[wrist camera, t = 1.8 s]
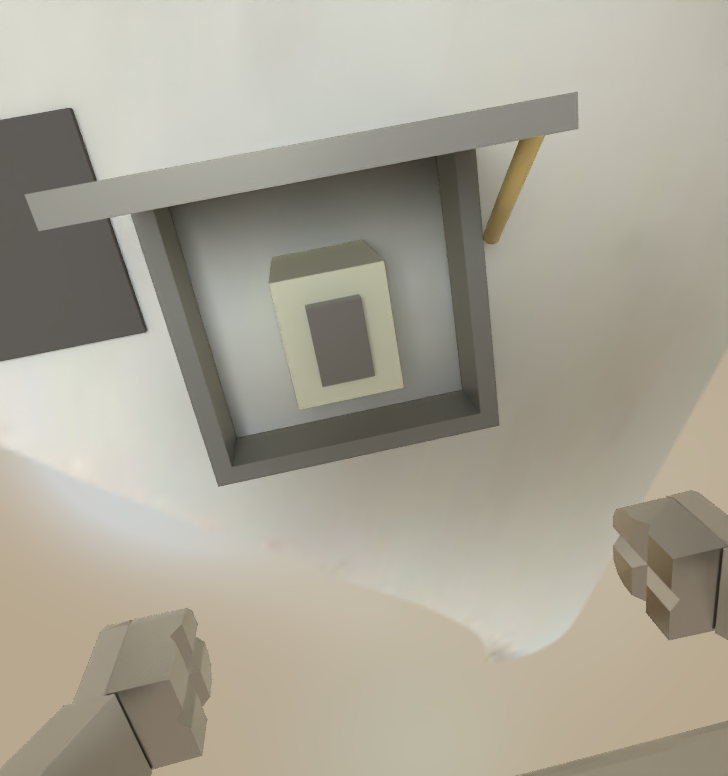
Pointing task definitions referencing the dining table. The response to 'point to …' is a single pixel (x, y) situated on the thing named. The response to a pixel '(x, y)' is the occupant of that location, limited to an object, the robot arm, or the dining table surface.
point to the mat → (55, 248)
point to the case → (305, 162)
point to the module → (336, 323)
